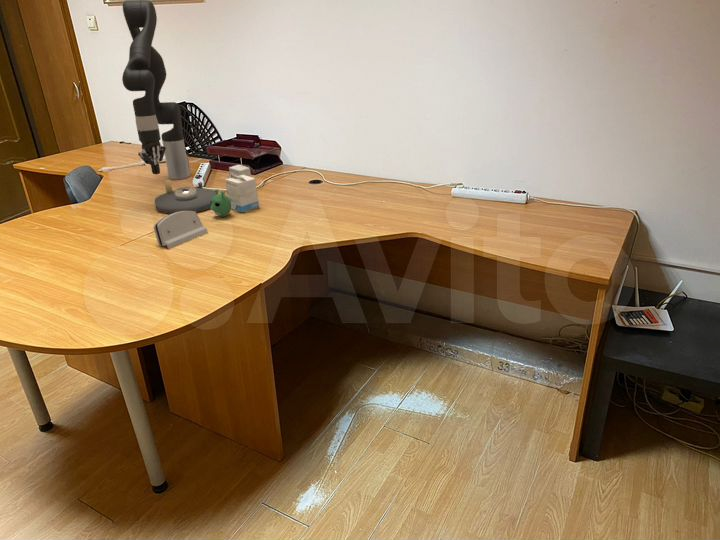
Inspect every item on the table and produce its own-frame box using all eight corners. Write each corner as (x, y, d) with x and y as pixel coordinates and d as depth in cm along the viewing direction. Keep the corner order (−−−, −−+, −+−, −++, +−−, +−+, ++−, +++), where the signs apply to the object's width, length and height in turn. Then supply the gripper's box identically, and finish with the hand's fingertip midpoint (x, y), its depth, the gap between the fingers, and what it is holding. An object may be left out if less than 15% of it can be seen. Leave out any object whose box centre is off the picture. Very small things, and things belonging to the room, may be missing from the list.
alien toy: (207, 217, 186) (203, 190, 181) (225, 211, 191) (222, 186, 187) (218, 221, 182) (214, 194, 177) (236, 215, 187) (233, 189, 182)
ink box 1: (231, 194, 210) (228, 166, 205) (241, 192, 213) (238, 164, 208) (243, 199, 205) (240, 170, 199) (253, 196, 208) (250, 167, 203)
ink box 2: (259, 207, 195) (256, 173, 189) (241, 213, 189) (237, 178, 183) (246, 203, 200) (242, 169, 194) (228, 208, 194) (223, 174, 189)
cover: (185, 193, 202) (184, 186, 200) (201, 196, 199) (200, 188, 197) (171, 199, 195) (169, 191, 194) (187, 202, 192) (185, 194, 191)
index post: (201, 192, 213) (199, 182, 211) (204, 193, 212) (202, 182, 210) (198, 193, 211) (197, 183, 209) (201, 194, 211) (200, 183, 209)
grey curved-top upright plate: (168, 249, 159) (156, 219, 157) (160, 251, 162) (147, 221, 160) (209, 232, 172) (198, 204, 169) (200, 234, 175) (189, 207, 172)
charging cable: (98, 172, 248) (96, 166, 246) (165, 160, 263) (163, 154, 262) (100, 175, 244) (98, 168, 242) (168, 162, 260) (166, 156, 258)
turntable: (184, 191, 213) (181, 174, 210) (231, 198, 204) (229, 180, 201) (141, 209, 193) (137, 190, 190) (191, 217, 184) (188, 197, 181)
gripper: (151, 124, 193) (160, 169, 201) (126, 130, 182) (136, 177, 190) (167, 125, 191) (175, 170, 199) (143, 131, 180) (152, 179, 187)
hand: (156, 173), depth 194 cm, fingers closed
